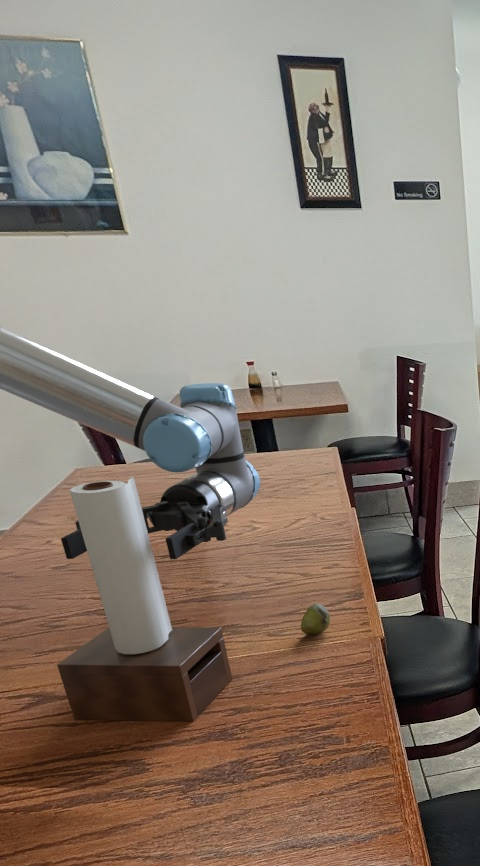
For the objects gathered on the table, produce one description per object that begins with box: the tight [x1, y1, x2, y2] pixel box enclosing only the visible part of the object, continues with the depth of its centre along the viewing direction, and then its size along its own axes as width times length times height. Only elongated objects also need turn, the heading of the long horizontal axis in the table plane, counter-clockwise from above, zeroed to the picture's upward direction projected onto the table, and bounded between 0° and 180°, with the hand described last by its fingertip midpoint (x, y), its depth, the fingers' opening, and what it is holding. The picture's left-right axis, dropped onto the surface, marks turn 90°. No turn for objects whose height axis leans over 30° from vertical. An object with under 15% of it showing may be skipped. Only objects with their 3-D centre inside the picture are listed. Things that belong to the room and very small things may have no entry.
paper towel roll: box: [69, 476, 173, 654], centre depth 103 cm, size 7×6×21 cm
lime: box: [300, 603, 331, 636], centre depth 129 cm, size 4×5×5 cm
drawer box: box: [56, 626, 233, 722], centre depth 110 cm, size 16×12×8 cm
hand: (118, 548), depth 103 cm, fingers open, 13 cm apart
